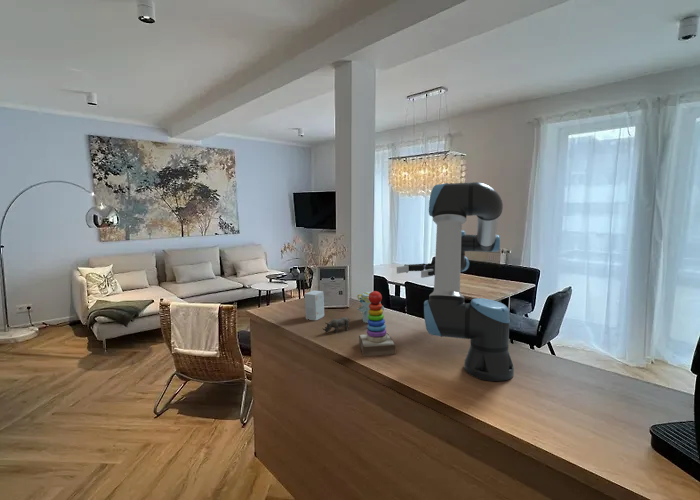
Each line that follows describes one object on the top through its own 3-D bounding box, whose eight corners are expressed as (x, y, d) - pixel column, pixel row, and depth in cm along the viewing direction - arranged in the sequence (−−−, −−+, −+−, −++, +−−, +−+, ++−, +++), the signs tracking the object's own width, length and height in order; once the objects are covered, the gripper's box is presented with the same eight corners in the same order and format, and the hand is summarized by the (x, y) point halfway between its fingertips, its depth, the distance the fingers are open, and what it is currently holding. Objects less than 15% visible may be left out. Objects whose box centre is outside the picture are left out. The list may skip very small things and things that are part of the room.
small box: (314, 314, 184) (313, 290, 182) (324, 316, 181) (323, 291, 179) (305, 319, 177) (304, 293, 175) (316, 320, 174) (315, 294, 172)
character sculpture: (348, 318, 177) (347, 291, 175) (366, 313, 183) (366, 288, 181) (372, 329, 160) (372, 299, 159) (392, 323, 167) (392, 295, 165)
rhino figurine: (320, 333, 156) (319, 320, 156) (347, 327, 163) (346, 314, 163) (324, 336, 153) (324, 322, 152) (352, 330, 160) (351, 317, 159)
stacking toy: (387, 335, 141) (386, 289, 138) (387, 343, 133) (386, 294, 131) (367, 335, 141) (366, 289, 139) (366, 342, 134) (365, 294, 131)
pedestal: (395, 354, 132) (395, 343, 132) (363, 356, 131) (363, 346, 131) (388, 342, 144) (388, 332, 144) (359, 344, 143) (358, 334, 143)
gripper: (466, 278, 149) (433, 285, 136) (421, 271, 168) (388, 277, 156) (466, 261, 148) (433, 266, 135) (421, 256, 168) (387, 260, 155)
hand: (408, 272), depth 145 cm, fingers open, 13 cm apart
